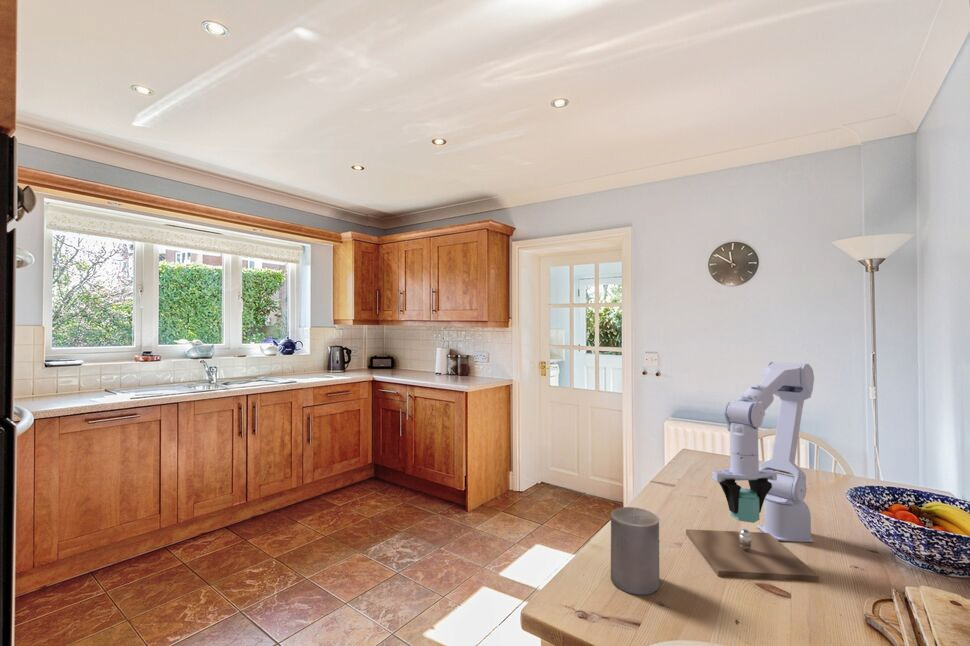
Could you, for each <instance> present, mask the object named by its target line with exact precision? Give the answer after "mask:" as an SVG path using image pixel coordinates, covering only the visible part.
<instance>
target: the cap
mask: <svg viewBox="0 0 970 646" xmlns="http://www.w3.org/2000/svg"><path fill="white" fill-rule="evenodd" d="M730 516H731V517H732V518H734V519H735V520H737V521H738V522H745V523H753V524H754V523H756V522H758V521H761V520H760V519H761V518H760V513H759V497H758V496H757V492H755V491H753V490H750V488H749V489H748V488H745V487H744V488H743V487H741V489H740V493H739V499H738V513H737V514H735V513H733V512H731V511H730Z"/></svg>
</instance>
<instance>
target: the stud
mask: <svg viewBox="0 0 970 646" xmlns="http://www.w3.org/2000/svg"><path fill="white" fill-rule="evenodd" d="M738 532H739V544H740V546H741V548H742V549H744V550H749V549H750V548H751V533H750V532H751V531H749V529H746V528H742V529H740V530H739V531H738Z"/></svg>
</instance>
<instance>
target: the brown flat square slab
mask: <svg viewBox="0 0 970 646" xmlns="http://www.w3.org/2000/svg"><path fill="white" fill-rule="evenodd" d="M739 532H740V531H739V530H738V531H737V530H736V531H735V530H730V531H729V530H712V529H711V530H708V529H685V535H686V537H687V538H688V539H689V540H690V542H691V543H692V544H693V546H694V547H695V548H696V549H697V550H698V552H699V553H700V555H701V556H702V557H703V558H704V560H705V562H707V564H708V565H709V566H710V568H711V569H712V570H713V571H714V573H715V574H716V576H717V577H725V578H741V579H742V578H745V579H746V578H747V579H763V580H782V581H784V580H785V581H799V582H800V581H803V582H804V581H805V582H820V575H819V574H818V573H816V572H815V571H814V570H813V569H812V568H811V567H809V565H807V564H806V563H805V562H803V560H801V559H800V558H799V557H798V556H797V555H795V554H794V553H793V552H792V551H791V550H789V549H788V548H787V547H786V546H785V545H784V544H783V543H781V541H778V540H776V539H775V538H774V537H773V536H772V535H771V534H769V533H764V532H763V531H761V532H759V531H749V532H750V533H751V548H750V549H749V550H744V549H742V548H741V546H740V544H739Z"/></svg>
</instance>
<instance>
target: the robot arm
mask: <svg viewBox="0 0 970 646" xmlns="http://www.w3.org/2000/svg"><path fill="white" fill-rule="evenodd" d="M814 382H815V375H814V369H813V368H812V366H811V365H810V363H792V362H791V363H788V362H773V361H769V362H768V363H767V364H766V365H765V367H764V369H763V378H762V380H761V381H760V382H759V384H752V385H751V386H750V387H749V388H747V390H746V391H745V392H744V393H743V394H742V395H741V396H740V397H739V398H738V399H733V400H731V401H729V402H727V404H726V405H725V410H724V412H723V413H724V419H725V421H726V425H727V427H726V428H727V431H728V432H729V449H730V450H729V451H730V455H729V456H730V458H729V460H730V463H729V464H730V466H729V468H726V469H721V470H713V471H712V476H711V477H712V480H713V481H714V482H716V483H718V484H719V485H720V487H721V489H722V492H723V494H724V495H725V498H726V503H727V506H728V509H729V511H730V513H731V512H733V513H735V514H737V513H738V499H739V493H740V489H741V488H742V486H740V485H739V484H737V482H736V481H747V483H748V486H749V489H750V490H753V491H755V492H757V496H758V497H759V514H760V513H762V508H763V511H764V512H763V513H764V514H763V516H764V517H763V518H764V519H763V521H764V522H763V524H761V525H760V524H757V526H756V527H757V528H758V529H759V530H760V531H761V532H762V533H769V534H771V535H772V536H773V537H774V538H775V539H776V540H778V541H779V542H781V541H782V542H800V543H801V542H803V543H805V542H807V543H813V541H814V540H813V539H812V524H811V523H812V522H811V521H812V519H811V517H812V516H811V511H810V508H809V506H808V503H806V502H805V501H804V500H805V499H806V495H807V476H806V474H805V472H804V471H803V470H802V469H801V467H800V466H798V465H797V464H796V454H797V447H798V443H799V441H798V440H799V435H800V429H801V423H802V422H801V421H802V415H803V408H804V403H805V401H806V400H808V399H810V398H812V394H813V390H814ZM774 396H776V397H778V398H780V406H779V412H778V418H777V423H776V431H775V437H774V443H773V448H772V449H773V450H772V456H771V458H769V459H767V460H765V461H762V462H761V463H760V464H759V462H760V461H759V458H760V457H759V428H760V427H761V426H762V424H763V421H764V418H765V416H766V410H767V409H769V407H770V406H771V405H772V403H773V402H774V399H775V398H774Z"/></svg>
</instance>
